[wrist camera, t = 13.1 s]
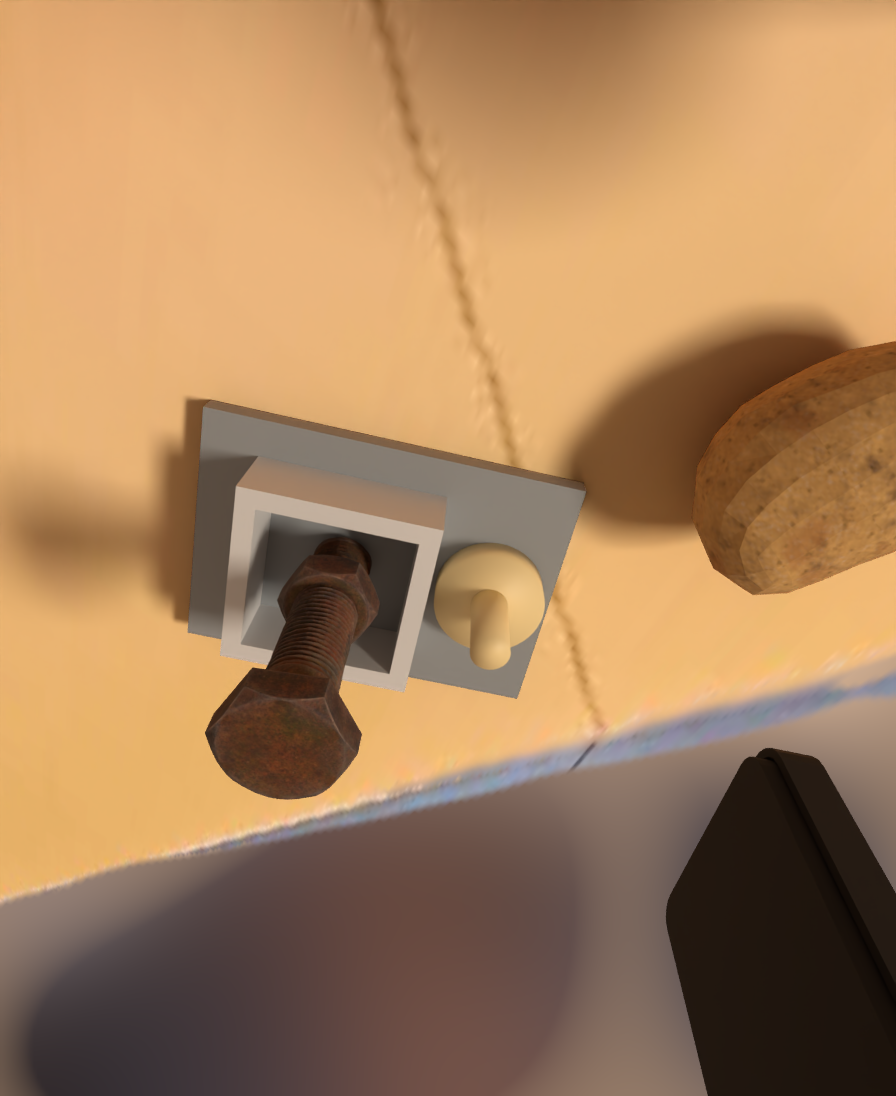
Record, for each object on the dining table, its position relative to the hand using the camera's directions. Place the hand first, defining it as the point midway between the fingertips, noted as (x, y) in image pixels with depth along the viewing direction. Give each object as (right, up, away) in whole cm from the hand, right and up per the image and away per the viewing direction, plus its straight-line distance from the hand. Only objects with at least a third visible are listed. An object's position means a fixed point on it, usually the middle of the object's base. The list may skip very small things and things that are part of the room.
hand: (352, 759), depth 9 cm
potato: (+19, +8, +29) cm, 36 cm away
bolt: (-5, +2, +32) cm, 32 cm away
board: (-3, +2, +33) cm, 33 cm away
